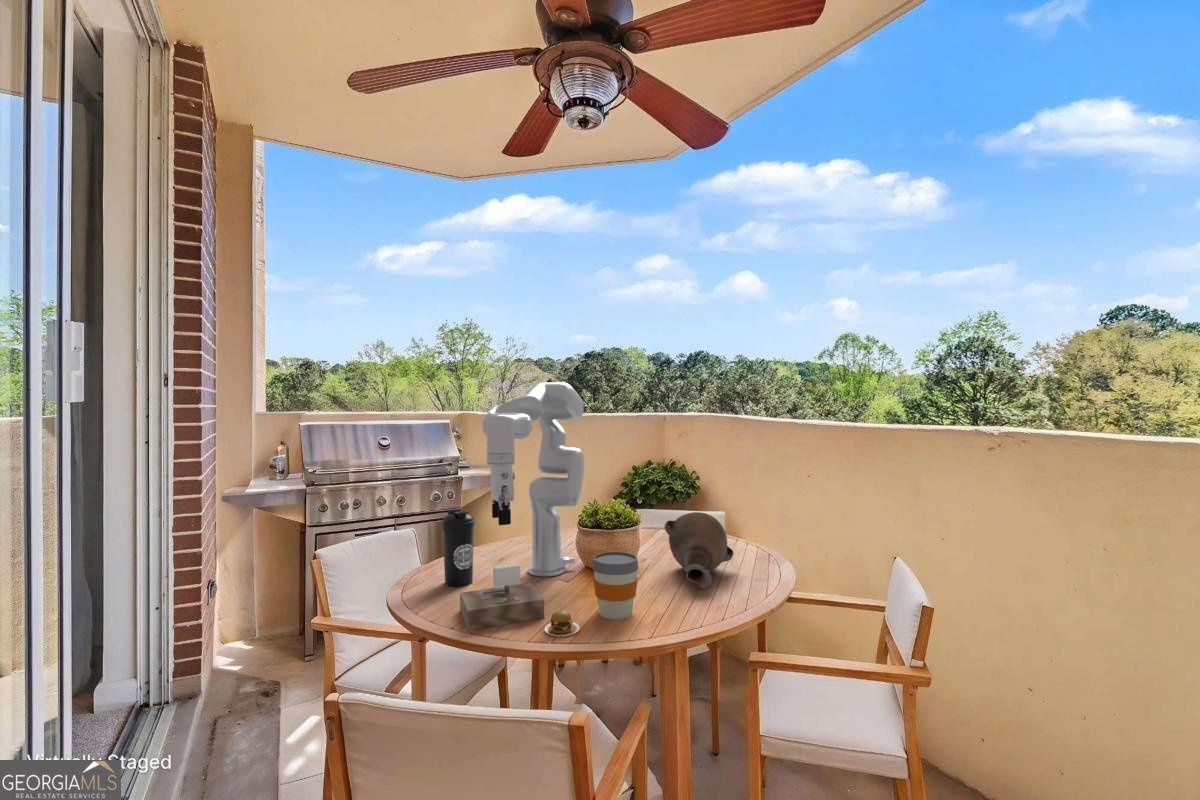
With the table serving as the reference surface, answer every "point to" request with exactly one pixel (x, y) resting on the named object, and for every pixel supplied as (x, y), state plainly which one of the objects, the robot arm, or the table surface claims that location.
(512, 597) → the brown slab
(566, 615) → the hamburger
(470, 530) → the water bottle
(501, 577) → the peg
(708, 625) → the table surface
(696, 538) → the jug
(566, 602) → the table surface
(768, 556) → the table surface
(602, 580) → the reusable coffee cup
